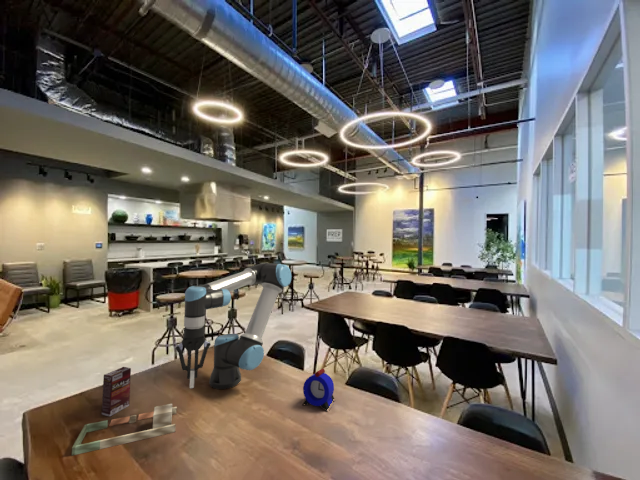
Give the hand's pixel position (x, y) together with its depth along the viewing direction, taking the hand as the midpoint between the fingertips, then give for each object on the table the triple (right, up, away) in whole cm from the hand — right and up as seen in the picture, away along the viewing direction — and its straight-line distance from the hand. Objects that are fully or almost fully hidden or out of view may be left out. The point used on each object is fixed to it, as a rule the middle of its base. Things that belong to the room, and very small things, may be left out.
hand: (191, 386), depth 112 cm
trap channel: (-19, -12, -7) cm, 24 cm away
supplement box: (-33, -12, +4) cm, 36 cm away
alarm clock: (+51, -15, +14) cm, 55 cm away
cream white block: (-9, -13, -4) cm, 16 cm away
